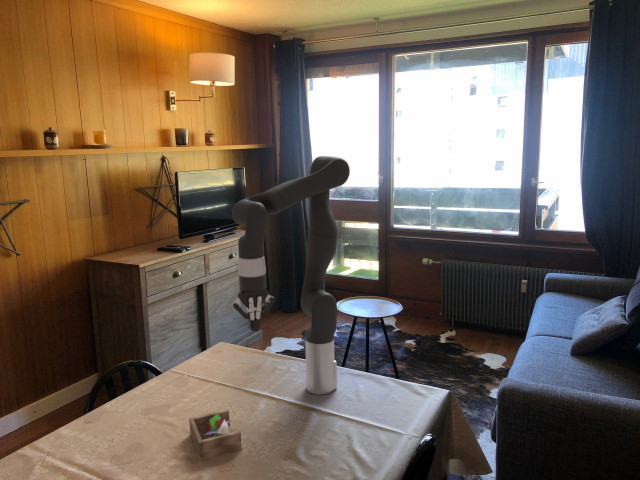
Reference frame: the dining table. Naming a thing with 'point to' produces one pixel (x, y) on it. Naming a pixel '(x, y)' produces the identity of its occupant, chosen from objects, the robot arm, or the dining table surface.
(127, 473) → the dining table surface
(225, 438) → the box
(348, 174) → the robot arm
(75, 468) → the dining table surface
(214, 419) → the geometric puzzle
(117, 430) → the dining table surface
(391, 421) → the dining table surface
